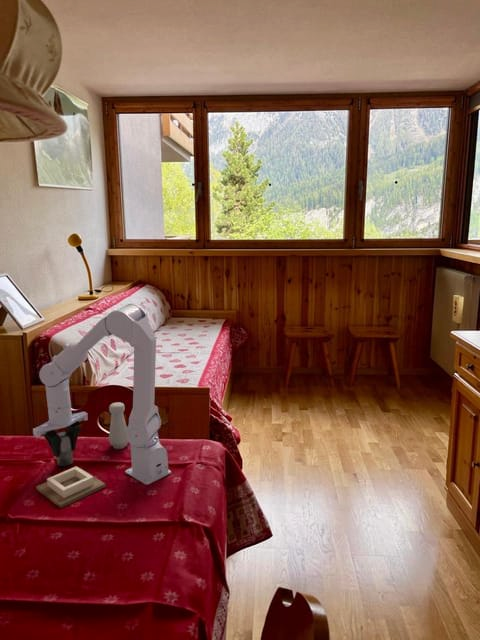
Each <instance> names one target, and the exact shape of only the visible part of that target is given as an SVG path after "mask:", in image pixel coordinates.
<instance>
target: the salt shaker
mask: <svg viewBox="0 0 480 640" xmlns="http://www.w3.org/2000/svg"><path fill="white" fill-rule="evenodd" d="M108 410H109V413H110V414H111V415H110V426H109V434H108V441H109V443H110V445H111V447H112V446H113V447H112V448H113V449H115V450H120V449H121V450H122V449H124V448H126V447H127V446H128V443H129V442H128V441H127V439H126V437H125V430H126V428H127V427H128V425H127V424H126V420H125V416H124V412H125V410H126V408H125V403H123V402H119V401H117V402H112V403H111V404H110V405H109V407H108ZM125 446H126V447H125Z"/></svg>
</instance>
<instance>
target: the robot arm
mask: <svg viewBox="0 0 480 640" xmlns="http://www.w3.org/2000/svg"><path fill="white" fill-rule="evenodd" d="M110 336H114V337H115V338H118V339H120V340H122V341H123V342H126V343H128V344H129V345H130V346H132V348H133V389H132V392H133V394H132V409H131V412H130V414H129V418H128V425H127V428H126V430H125V437H126V439H127V441H128V443H129V445H130V458H131V467H129V468H128V469H126V470H124V472H125V474H127V475H129V476H130V477H132V478H135V480H138V481H140V482H141V483H143V484H144V485H150V484H152V483H154V482H156V481H158V480H160V479H162V478H164V477H165V476H167V475H171V473H172V471H171V470H170V469H169V461H168V459H169V458H168V451H167V449H166V448H165V447H164V446H163V445H162V444H161V442H160V439H159V433H158V430H160V428H161V425H162V419H161V417H160V414H159V407H158V406H157V405H155V394H156V393H155V391H156V390H155V389H156V388H155V387H156V361H157V359H156V358H157V357H156V356H157V355H156V354H157V337H156V335H155V332H154V331H153V328H152V326H151V324H150V322H149V318H148V312H146V310H144V309H143V308H142V307H140V306H139V305H138V304H136V303H127V304H126V305H125V306H122V307H120V308H118V309H117V310H112V311H111V312H109V313H108V314H107V315H106V316H104V317H103V318H101V319H100V320H99V321H98V322H97V323H96V324H95V325H93V327H92V328H91V329H90V330H89V331H88V332H87V333H86V334H85V335H84V336H83V337H82V338H81V339H80V340H79V341H77V342H76V341H72V342H70V343H69V342H68V343H65V344H64V345H63V346H62V348H63V350H62V351H61V352H60V353H59V354H57V355H54V356H53V357H51V362H50V363H46V364H44V365H42V367H41V368H40V370H39V379H40V381H41V383H42V384H44V385H45V392H46V393H45V394H46V395H45V396H46V402H47V403H46V405H47V409H48V410H47V413H48V421H47V422H44V423H43V424H40V425H39V426H37V427H35V428H34V427H33V428H32V434H33V436H34V437H35V438H40V437H42V436H43V437H44V438H45V440H46V442H47V443H48V445H49V446H50V449H51V452H52V455H53V456H54V457H56V458H57V457H59V435H58V433H57V430H59V429H60V430H61V429H64V428H65V432H69V433H70V435H71V445H72V452H75V450H76V445H77V441H78V436H79V435H80V433H81V430H82V428H83V427H82V426H83V425H82V424H81V423H80V422H82V421H88V419H89V418H88V413H87V412H86V411H80V412H77V413H72V402H71V394H70V377H71V376H72V373H74V371H76V370H77V369H78V368H79V367H80V366H81V365H82V364H83V363H84V362H85V361H86V360H87V359H88V356H89V351H90V350H91V349H92V348H94V347H95V346H96V345H97V344H98V343H100V341H101V340H103V339H104V338H105V337H110Z"/></svg>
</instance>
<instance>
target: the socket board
mask: <svg viewBox="0 0 480 640" xmlns="http://www.w3.org/2000/svg"><path fill="white" fill-rule="evenodd" d="M103 488H106V483H105V482H103V481H102V480H101V479H98V477H96V476H94V475H92V474H91V473H89V472H87V471H86V470H85V469H83V468H81V467H78V466H76V465H75V466H74V467H71V468H69V469H67V470H64V471H62V472H59V473H58V474H55V475H53V476H50V477H48V478H46V481H45V482H43V483H42V484H39V485H36V490H37V491H38V492H39V493H40V494H42V495H43V496H44V497H46V498H47V499H48V500H50V501H51V502H52V503H53V504H54V505H56V506H58V508H60V509H63V508H64V507H67V506H69V505H71V504H72V503H75V502H77V501H79V500H81V499H82V498H85V497H88V496H89V495H92V494H93V493H96V492H98V491H100V490H103Z"/></svg>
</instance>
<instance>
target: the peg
mask: <svg viewBox="0 0 480 640" xmlns="http://www.w3.org/2000/svg"><path fill="white" fill-rule="evenodd" d="M57 434H58V435H59V457H56V461H57V466H60V467H67V466H70V465H71V464H73V463H74V457H73V451H72V445H71V435H70V433H69V432H66V431H61V432H58V433H57Z"/></svg>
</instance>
